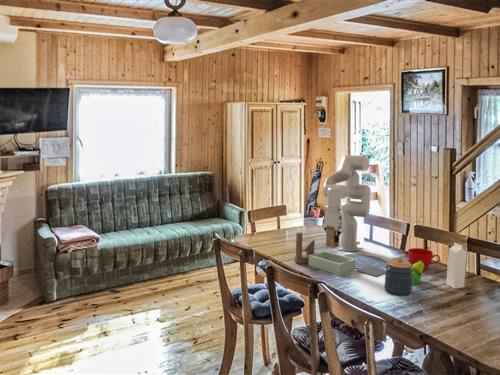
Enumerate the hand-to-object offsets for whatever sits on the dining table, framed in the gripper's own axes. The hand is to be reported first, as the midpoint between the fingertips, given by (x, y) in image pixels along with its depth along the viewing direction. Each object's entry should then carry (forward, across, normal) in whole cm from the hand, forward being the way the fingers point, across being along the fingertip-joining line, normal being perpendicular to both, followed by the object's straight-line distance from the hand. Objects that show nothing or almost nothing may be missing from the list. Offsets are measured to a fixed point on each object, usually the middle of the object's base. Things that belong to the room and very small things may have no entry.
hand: (332, 240), depth 257 cm
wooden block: (+16, +16, +6) cm, 23 cm away
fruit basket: (+16, -42, -14) cm, 47 cm away
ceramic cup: (+16, -35, -37) cm, 54 cm away
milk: (+16, -59, -24) cm, 66 cm away
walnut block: (+4, 0, 0) cm, 4 cm away
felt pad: (+16, -19, -11) cm, 27 cm away
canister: (+15, -44, +5) cm, 47 cm away
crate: (+16, 0, +1) cm, 16 cm away
